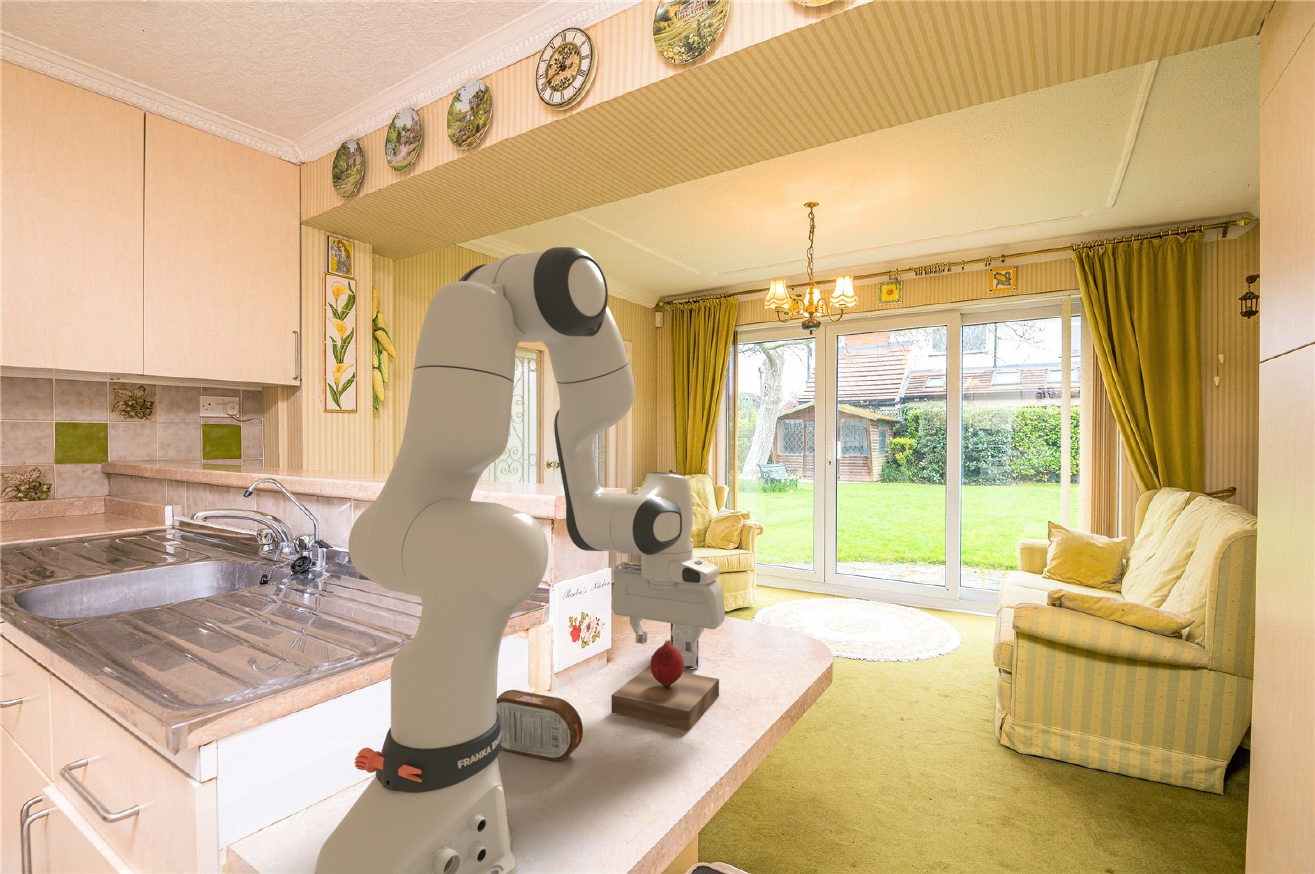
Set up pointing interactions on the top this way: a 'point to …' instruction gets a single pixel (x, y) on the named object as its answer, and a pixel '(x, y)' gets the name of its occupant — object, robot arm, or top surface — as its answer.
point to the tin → (538, 725)
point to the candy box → (684, 644)
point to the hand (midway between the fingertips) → (665, 646)
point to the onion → (667, 664)
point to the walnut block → (666, 699)
